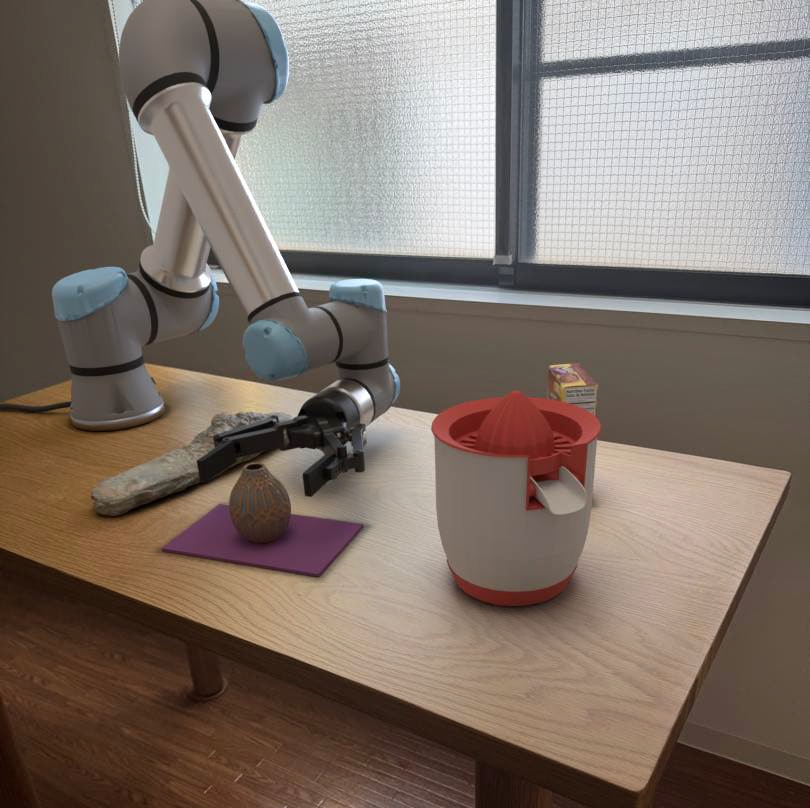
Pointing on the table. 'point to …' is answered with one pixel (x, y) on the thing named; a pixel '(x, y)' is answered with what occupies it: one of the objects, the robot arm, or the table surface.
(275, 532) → the vase
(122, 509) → the long grey stone
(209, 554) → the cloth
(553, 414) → the citrus juicer
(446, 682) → the table surface
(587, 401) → the candy box
